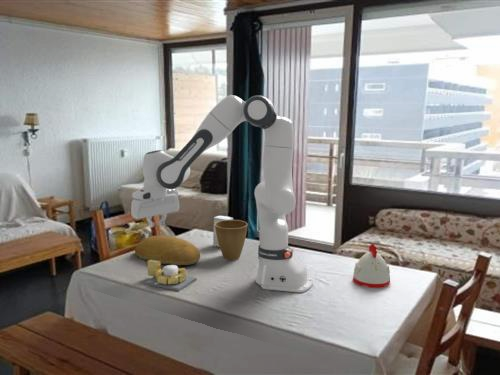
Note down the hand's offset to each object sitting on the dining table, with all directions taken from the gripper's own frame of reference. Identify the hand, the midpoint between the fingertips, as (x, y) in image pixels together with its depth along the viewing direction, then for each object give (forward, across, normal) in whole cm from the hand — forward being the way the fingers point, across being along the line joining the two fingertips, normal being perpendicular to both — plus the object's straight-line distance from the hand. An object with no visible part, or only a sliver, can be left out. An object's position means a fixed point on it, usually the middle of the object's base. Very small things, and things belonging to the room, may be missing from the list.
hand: (156, 225), depth 168 cm
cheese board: (+20, +1, +6) cm, 21 cm away
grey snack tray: (+21, 0, +8) cm, 23 cm away
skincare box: (+21, -46, -12) cm, 52 cm away
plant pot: (+21, -36, +4) cm, 42 cm away
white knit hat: (+22, -56, +64) cm, 88 cm away
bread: (+22, -16, -16) cm, 31 cm away
